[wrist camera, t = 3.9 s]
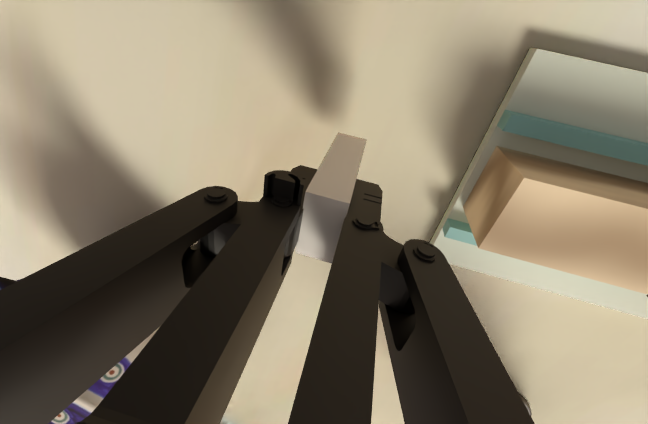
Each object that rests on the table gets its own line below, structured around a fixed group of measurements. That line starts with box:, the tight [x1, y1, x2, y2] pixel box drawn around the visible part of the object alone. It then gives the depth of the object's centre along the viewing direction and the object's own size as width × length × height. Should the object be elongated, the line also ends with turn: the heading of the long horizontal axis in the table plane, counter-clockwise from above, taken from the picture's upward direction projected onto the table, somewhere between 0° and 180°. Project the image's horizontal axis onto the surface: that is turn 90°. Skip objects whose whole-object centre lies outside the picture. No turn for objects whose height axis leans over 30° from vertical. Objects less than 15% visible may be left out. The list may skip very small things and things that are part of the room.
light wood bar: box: [463, 146, 648, 294], centre depth 14 cm, size 4×12×4 cm, turn 80°
